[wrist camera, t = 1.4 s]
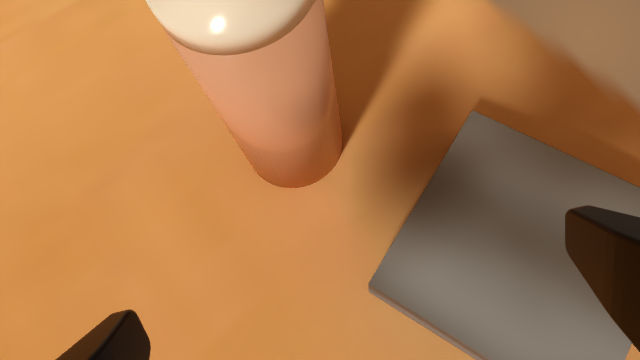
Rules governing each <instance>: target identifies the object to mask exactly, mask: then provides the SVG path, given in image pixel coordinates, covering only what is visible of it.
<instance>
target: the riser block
mask: <svg viewBox="0 0 640 360" xmlns="http://www.w3.org/2000/svg"><path fill="white" fill-rule="evenodd" d="M585 205H591V206H595V207H599V208H603V209H608V210H612V211H616V212H620V213H624V214H628V215H633V216H637V217H640V187H638V186H635V185H633V184H631V183H629V182H627V181H625V180H622V179H620V178H618V177H616V176H614V175H612V174H609V173H607V172H605V171H603V170H601V169H599V168H596V167H594V166H592V165H590V164H588V163H586V162H583V161H581V160H579V159H577V158H575V157H573V156H571V155H568V154H566V153H564V152H562V151H560V150H558V149H555V148H553V147H551V146H549V145H547V144H545V143H542V142H540V141H538V140H536V139H534V138H532V137H529V136H527V135H525V134H523V133H521V132H519V131H516V130H514V129H512V128H510V127H508V126H506V125H503V124H501V123H499V122H497V121H495V120H493V119H491V118H488V117H486V116H484V115H482V114H480V113H478V112H475V111H473V110H472V111H471V113H470V115H469V116H468V118H467V120H466V121H465V123H464V125H463V126H462V128H461V130H460V131H459V133H458V135H457V136H456V138H455V140H454V141H453V143H452V145H451V146H450V148H449V150H448V152H447V153H446V155H445V157H444V158H443V160H442V162H441V163H440V165H439V167H438V168H437V170H436V172H435V173H434V175H433V177H432V178H431V180H430V182H429V183H428V185H427V187H426V188H425V190H424V192H423V193H422V195H421V197H420V198H419V200H418V202H417V203H416V205H415V207H414V208H413V210H412V212H411V213H410V215H409V217H408V218H407V220H406V222H405V223H404V225H403V227H402V228H401V230H400V232H399V233H398V235H397V237H396V238H395V240H394V242H393V243H392V245H391V247H390V248H389V250H388V252H387V253H386V255H385V257H384V259H383V260H382V262H381V264H380V265H379V267H378V269H377V270H376V272H375V274H374V275H373V277H372V279H371V280H370V282H369V292H370V293H372V294H373V295H375V296H376V297H378V298H379V299H381V300H383V301H384V302H386V303H387V304H389V305H391V306H392V307H394V308H395V309H397V310H398V311H400V312H402V313H403V314H405V315H406V316H408V317H410V318H411V319H413V320H414V321H416V322H417V323H419V324H421V325H422V326H424V327H425V328H427V329H429V330H430V331H432V332H433V333H435V334H436V335H438V336H440V337H441V338H443V339H444V340H446V341H448V342H449V343H451V344H452V345H454V346H455V347H457V348H459V349H460V350H462V351H463V352H465V353H467V354H468V355H470V356H471V357H473V358H474V359H476V360H625V358H626V356H627V354H628V351H629V349H630V346H631V344H632V342H631V341H630V340H629V339H628V337H627V336H626V335H625V334H624V333H623V332H622V330H621V329H620V328H619V327H618V326H617V324H616V323H615V322H614V321H613V319H612V318H611V317H610V315H609V314H608V313H607V311H606V310H605V309H604V307H603V306H602V304H601V303H600V301H599V300H598V298H597V297H596V295H595V294H594V292H593V291H592V289H591V288H590V287H589V285H588V284H587V282H586V281H585V279H584V278H583V276H582V275H581V273H580V272H579V270H578V269H577V267H576V266H575V264H574V263H573V261H572V260H571V258H570V257H569V255H568V253H567V251H566V247H565V214H566V212H567V211H568V210H569V209H572V208H576V207H580V206H585Z"/></svg>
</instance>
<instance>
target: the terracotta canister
mask: <svg viewBox="0 0 640 360" xmlns="http://www.w3.org/2000/svg"><path fill="white" fill-rule="evenodd" d="M146 2H147V4H148V5H149V7H150V9H151V10H152V12H153V13H154V15H155V16H156V18H157V20H158V21H159V23H160V24H161V26H162V27H163V29H164V30H165V32H166V34H167V35H168V37H169V38H170V40H171V41H172V43H173V44H174V46H175V47H176V49H177V51H178V52H179V54H180V55H181V57H182V58H183V60H184V61H185V63H186V65H187V66H188V68H189V69H190V71H191V72H192V74H193V75H194V77H195V78H196V80H197V82H198V83H199V85H200V86H201V88H202V89H203V91H204V92H205V94H206V96H207V97H208V99H209V100H210V102H211V103H212V105H213V106H214V108H215V109H216V111H217V113H218V114H219V116H220V117H221V119H222V120H223V122H224V123H225V125H226V126H227V128H228V130H229V131H230V133H231V134H232V136H233V137H234V139H235V140H236V142H237V144H238V145H239V147H240V148H241V150H242V151H243V153H244V154H245V156H246V157H247V159H248V161H249V162H250V164H251V165H252V167H253V168H254V170H255V171H256V172H257V174H258V175H259V176H261V177H262V178H263V179H264V180H266V181H267V182H269V183H271V184H273V185H276V186H280V187H285V188H298V187H304V186H307V185H310V184H313V183H315V182H317V181H319V180H320V179H322V178H323V177H324V176H326V175H327V174H328V173H329V172H330V171H331V170H332V169H333V167H334V166H335V165H336V163H337V161H338V159H339V157H340V154H341V150H342V144H343V140H342V131H341V124H340V116H339V109H338V102H337V95H336V88H335V81H334V74H333V67H332V60H331V53H330V45H329V38H328V31H327V24H326V17H325V10H324V3H323V0H146Z"/></svg>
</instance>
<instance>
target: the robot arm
mask: <svg viewBox="0 0 640 360" xmlns="http://www.w3.org/2000/svg"><path fill="white" fill-rule="evenodd" d="M565 247H566V251H567V253H568V255H569V257H570V258H571V260H572V261H573V263H574V264H575V266H576V267H577V269H578V270H579V272H580V273H581V275H582V276H583V278H584V279H585V281H586V282H587V284H588V285H589V287H590V288H591V289H592V291H593V292H594V294H595V295H596V297H597V298H598V300H599V301H600V303H601V304H602V306H603V307H604V309H605V310H606V311H607V313H608V314H609V315H610V317H611V318H612V319H613V321H614V322H615V323H616V324H617V326H618V327H619V328H620V329H621V330H622V332H623V333H624V334H625V335H626V336H627V337H628V339H629V340H630V341H631V342H632V343H633V345H634V346H635V347H636V348H637V349H638V350H639V352H640V217H637V216H633V215H628V214H624V213H620V212H616V211H612V210H608V209H603V208H599V207H595V206H591V205H585V206H580V207H576V208H572V209H569V210H568V211H567V212H566V214H565ZM150 349H151V348H150V340H149V338H148V335H147V333H146V331H145V329H144V327H143V325H142V323H141V321H140V319H139V317H138V315H137V314H136V312H135V311H133V310H125V311H120V312H116V313H113V314H111V315H109V316H108V317H107V318H106V319H105V320H103V321H102V322H101V323H100V324H99V325H97V326H96V327H95V328H94V329H92V330H91V331H90V332H89V333H88V334H86V335H85V336H84V337H83V338H82V339H80V340H79V341H78V342H77V343H75V344H74V345H73V346H72V347H71V348H69V349H68V350H67V351H66V352H64V353H63V354H62V355H61V356H60V357H58V358H57V359H56V360H149V357H150Z"/></svg>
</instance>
